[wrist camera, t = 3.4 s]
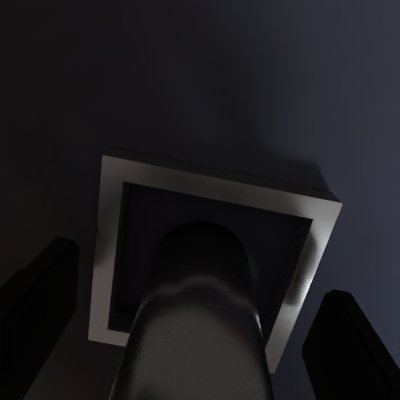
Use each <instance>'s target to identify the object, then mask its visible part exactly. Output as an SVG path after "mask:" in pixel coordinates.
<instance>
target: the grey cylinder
mask: <svg viewBox="0 0 400 400" xmlns="http://www.w3.org/2000/svg"><path fill="white" fill-rule="evenodd" d="M108 400H274V396H273V390H272V385H271V380H270V374H269V369H268V364H267V359H266V353H265V348H264V343H263V338H262V332H261V327H260V322H259V316H258V311H257V306H256V301H255V295H254V290H253V285H252V279H251V274H250V269H249V264H248V258H247V254H246V250H245V248H244V246H243V244H242V242H241V241H240V239H239V238H238V237H237V236H236V235H235V234H234V233H233V232H231V231H230V230H229V229H227V228H225V227H223V226H221V225H218V224H215V223H211V222H191V223H187V224H184V225H181V226H179V227H177V228H175V229H174V230H172V231H171V232H170V233H168V234H167V235H166V236H165V238H164V239H163V240H162V242H161V244H160V246H159V248H158V251H157V254H156V257H155V260H154V263H153V266H152V269H151V272H150V275H149V278H148V281H147V284H146V287H145V290H144V293H143V296H142V299H141V302H140V305H139V308H138V311H137V314H136V317H135V320H134V323H133V326H132V329H131V332H130V335H129V338H128V341H127V344H126V347H125V350H124V353H123V356H122V359H121V362H120V365H119V368H118V371H117V374H116V377H115V380H114V384H113V387H112V390H111V393H110V396H109V399H108Z"/></svg>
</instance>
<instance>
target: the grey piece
mask: <svg viewBox="0 0 400 400" xmlns="http://www.w3.org/2000/svg"><path fill="white" fill-rule="evenodd" d="M130 183H134V184H139V185H144V186H149V187H155V188H160V189H165V190H170V191H175V192H180V193H185V194H190V195H195V196H200V197H205V198H210V199H215V200H220V201H225V202H230V203H235V204H240V205H245V206H250V207H255V208H260V209H265V210H270V211H275V212H280V213H285V214H290V215H295V216H300V217H301V218H300V221H299V223H298V226H297V229H296V232H295V235H294V238H293V240H292V243H291V246H290V249H289V252H288V255H287V257H286V260H285V263H284V266H283V269H282V272H281V274H280V277H279V280H278V283H277V286H276V289H275V291H274V294H273V297H272V300H271V303H270V306H269V308H268V311H267V314H266V317H265V320H264V323H263V326H262V328H261V332H262V338H263V343H264V348H265V353H266V359H267V364H268V369H269V373H273V374H275V371H276V369H277V366H278V364H279V361H280V359H281V356H282V354H283V351H284V349H285V346H286V344H287V341H288V339H289V336H290V334H291V331H292V329H293V326H294V324H295V321H296V319H297V316H298V314H299V311H300V309H301V306H302V304H303V302H304V299H305V297H306V294H307V292H308V289H309V287H310V284H311V282H312V279H313V277H314V274H315V272H316V269H317V267H318V264H319V262H320V259H321V257H322V254H323V252H324V249H325V247H326V244H327V242H328V239H329V237H330V234H331V232H332V229H333V227H334V224H335V222H336V220H337V217H338V215H339V212H340V210H341V207H342V205H343V203H342V202H341V201H340V200H339V199H338V198H337V197H336V196H335V195H333V194H332V193H331V192H328V191H324V190H319V189H314V188H309V187H304V186H299V185H294V184H289V183H284V182H279V181H274V180H269V179H264V178H259V177H254V176H249V175H244V174H240V173H235V172H230V171H225V170H220V169H215V168H210V167H205V166H200V165H195V164H190V163H185V162H180V161H175V160H170V159H165V158H160V157H155V156H151V155H146V154H141V153H136V152H131V151H126V150H121V149H116V148H112V149H111V150H109V151H108V152H106V153H105V154H103V155H102V168H101V181H100V194H99V207H98V219H97V232H96V245H95V258H94V271H93V284H92V297H91V309H90V322H89V335H88V340H92V341H97V342H103V343H108V344H114V345H119V346H125V347H126V344H127V341H128V338H129V335H130V332H131V329H132V326H133V323H134V320H135V317H136V314H132V313H126V312H121V311H116V301H117V293H118V284H119V276H120V267H121V258H122V250H123V241H124V233H125V224H126V216H127V207H128V198H129V190H130Z"/></svg>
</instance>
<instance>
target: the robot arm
mask: <svg viewBox="0 0 400 400" xmlns="http://www.w3.org/2000/svg"><path fill="white" fill-rule="evenodd" d="M78 263H79V245H75V242H74V240H71V239H66V238H61V237H56V238H55V239H54V240H53V241H52V242H51V243H50V244H49V245H48V246H47V247H46V248H45V249H44V250H43V251H42V252H41V253H40V254H39V255H38V256H37V257H36V258H35V259H34V260H33V261H32V262H31V263H30V264H29V265H28V266H27V267H26V268H25V269H22V270H19V271H18V272H16V273H15V274H14V275H13V276H12V277H11V278H10V279H9V280H8V281H7V282H6V283H5V284H4V285H3V286H2V287H1V288H0V400H23V398H24V396H25V395H26V393H27V391H28V390H29V388H30V386H31V385H32V383H33V381H34V379H35V378H36V376H37V374H38V373H39V371H40V369H41V368H42V366H43V364H44V363H45V361H46V359H47V358H48V356H49V354H50V353H51V351H52V349H53V348H54V346H55V344H56V343H57V341H58V339H59V337H60V336H61V334H62V332H63V331H64V329H65V327H66V326H67V324H68V322H69V321H70V319H71V317H72V316H73V314H74V311H75V308H76V301H77V282H78ZM302 356H303V359H304V362H305V365H306V369H307V372H308V375H309V378H310V381H311V384H312V387H313V390H314V393H315V396H316V400H400V369H399V368H398V366H397V364H396V363H395V361H394V360H393V358H392V357H391V355H390V354H389V352H388V350H387V349H386V347H385V346H384V344H383V343H382V341H381V340H380V338H379V336H378V335H377V333H376V332H375V330H374V329H373V327H372V326H371V324H370V322H369V321H368V319H367V318H366V316H365V315H364V313H363V312H362V310H361V308H360V307H359V305H358V304H357V302H356V301H355V299H354V298H353V296H352V295H351V293H349V292H345V291H340V290H331V291H330V293H329V292H328V293H326V294H325V296H324V298H323V300H322V303H321V305H320V307H319V310H318V312H317V314H316V317H315V319H314V321H313V323H312V326H311V328H310V330H309V333H308V335H307V337H306V340H305V342H304V344H303V347H302Z"/></svg>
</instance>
